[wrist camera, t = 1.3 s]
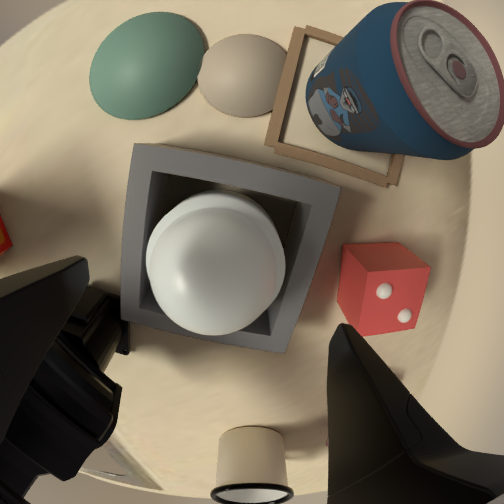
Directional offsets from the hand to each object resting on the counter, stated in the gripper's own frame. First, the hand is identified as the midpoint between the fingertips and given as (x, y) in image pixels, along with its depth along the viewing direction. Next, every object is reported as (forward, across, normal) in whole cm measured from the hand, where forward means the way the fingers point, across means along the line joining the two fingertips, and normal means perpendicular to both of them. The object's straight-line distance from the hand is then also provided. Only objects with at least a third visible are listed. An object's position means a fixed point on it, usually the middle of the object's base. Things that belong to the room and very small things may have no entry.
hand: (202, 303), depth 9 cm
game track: (+13, +2, -9) cm, 15 cm away
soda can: (+14, -5, -8) cm, 17 cm away
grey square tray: (+11, +1, +3) cm, 12 cm away
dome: (+9, +1, +3) cm, 10 cm away
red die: (+12, -11, +4) cm, 17 cm away
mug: (+9, -7, +30) cm, 32 cm away
